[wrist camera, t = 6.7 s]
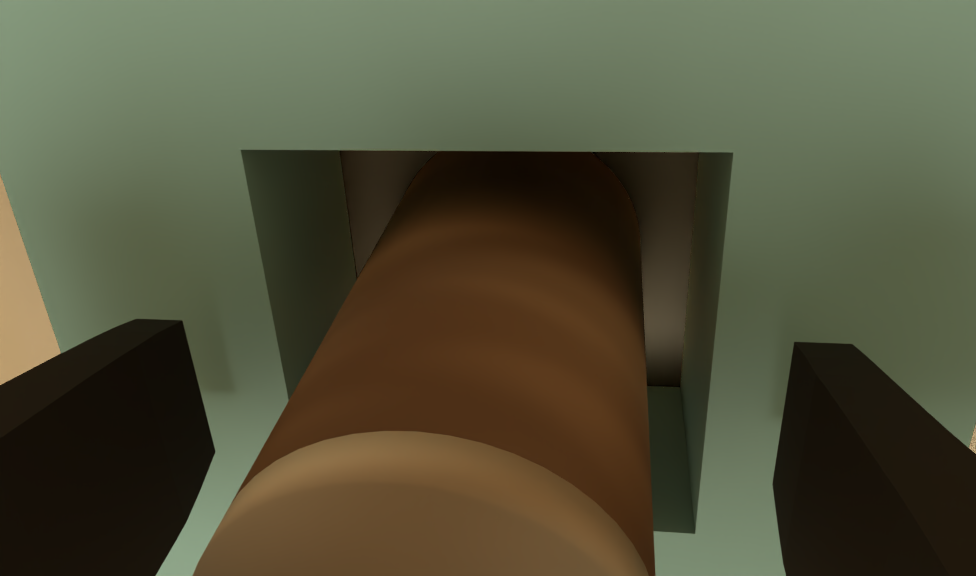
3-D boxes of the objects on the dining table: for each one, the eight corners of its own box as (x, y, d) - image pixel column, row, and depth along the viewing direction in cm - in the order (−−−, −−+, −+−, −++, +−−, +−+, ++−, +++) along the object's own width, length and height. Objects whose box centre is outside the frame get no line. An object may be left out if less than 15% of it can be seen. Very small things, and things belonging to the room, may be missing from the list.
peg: (649, 131, 13) (682, 504, 6) (632, 353, 15) (643, 831, 8) (389, 125, 13) (138, 463, 6) (406, 341, 15) (229, 780, 8)
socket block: (981, -111, 11) (1121, -78, 8) (852, 493, 16) (906, 658, 13) (96, -80, 12) (-74, -43, 9) (227, 457, 17) (143, 595, 14)
